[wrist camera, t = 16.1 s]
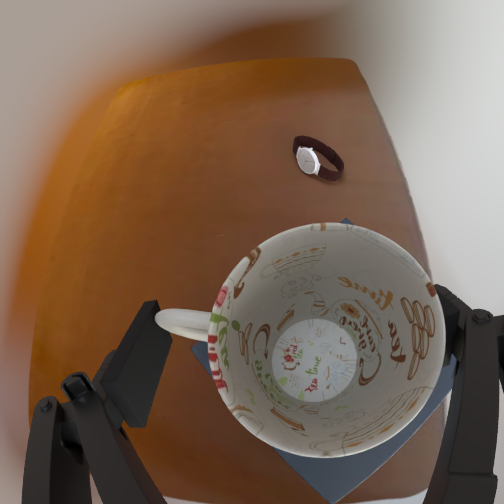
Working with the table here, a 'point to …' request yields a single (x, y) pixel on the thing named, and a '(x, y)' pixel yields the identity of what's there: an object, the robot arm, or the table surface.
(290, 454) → the shelf
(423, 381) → the mug
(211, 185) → the table surface
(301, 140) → the watch
